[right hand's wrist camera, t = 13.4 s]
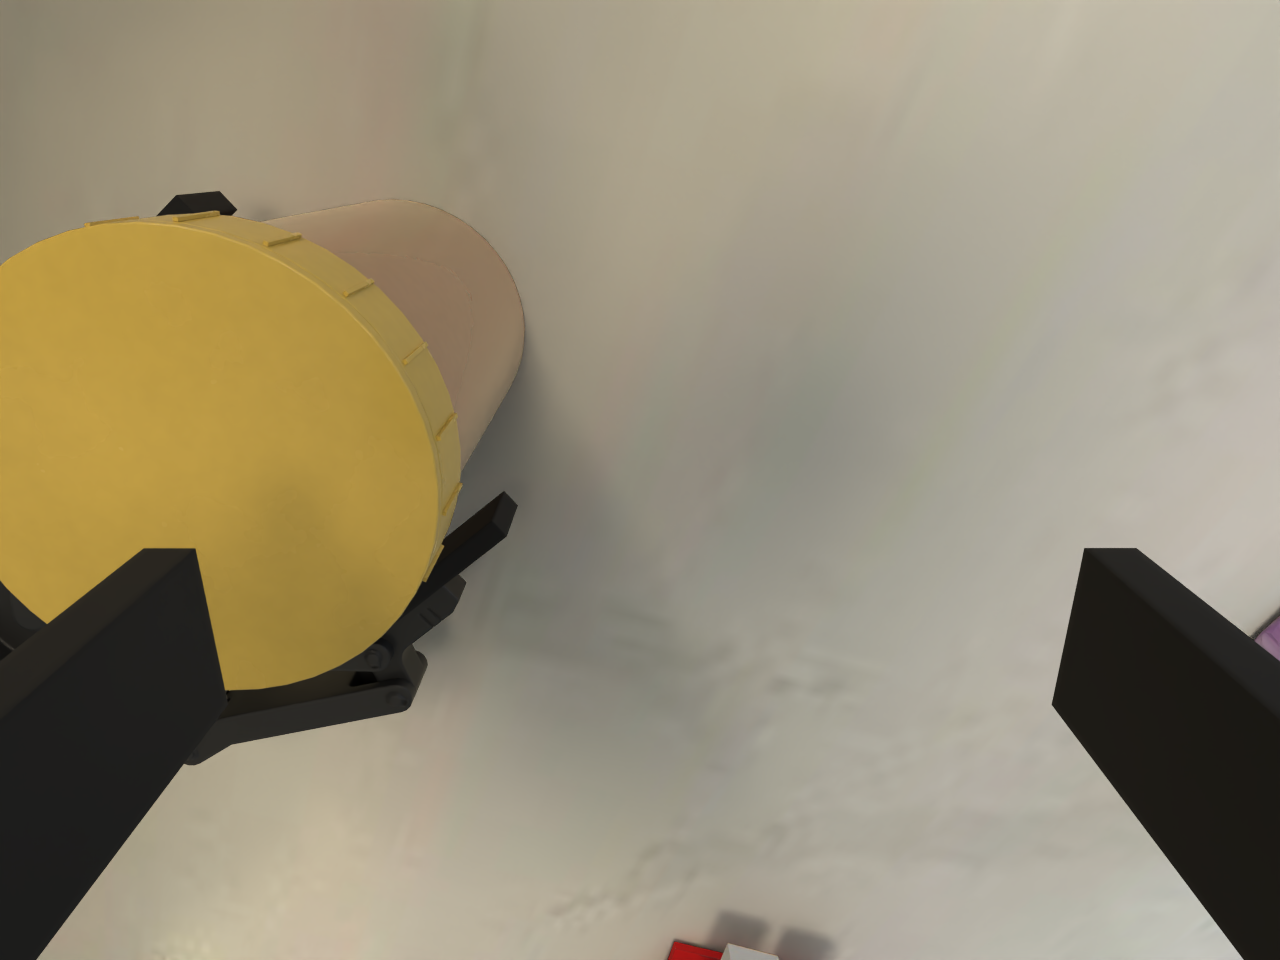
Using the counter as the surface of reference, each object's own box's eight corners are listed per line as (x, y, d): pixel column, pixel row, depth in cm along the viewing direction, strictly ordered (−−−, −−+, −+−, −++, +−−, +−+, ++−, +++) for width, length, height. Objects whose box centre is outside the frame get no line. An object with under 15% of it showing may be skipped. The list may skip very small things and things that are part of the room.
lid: (67, 635, 22) (2, 689, 20) (-49, 206, 18) (-147, 214, 16) (474, 641, 22) (455, 696, 20) (445, 213, 18) (417, 222, 16)
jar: (301, 437, 35) (32, 660, 20) (267, 197, 32) (-90, 240, 16) (529, 441, 35) (438, 666, 20) (520, 201, 32) (401, 248, 16)
